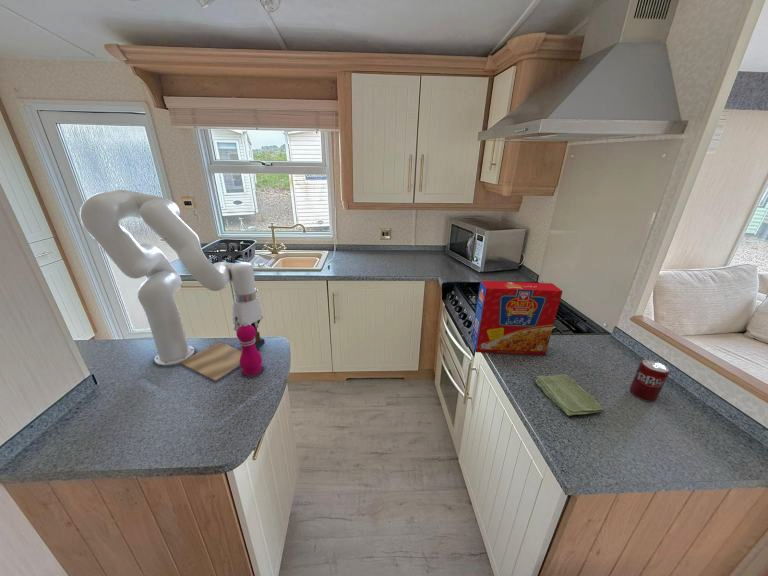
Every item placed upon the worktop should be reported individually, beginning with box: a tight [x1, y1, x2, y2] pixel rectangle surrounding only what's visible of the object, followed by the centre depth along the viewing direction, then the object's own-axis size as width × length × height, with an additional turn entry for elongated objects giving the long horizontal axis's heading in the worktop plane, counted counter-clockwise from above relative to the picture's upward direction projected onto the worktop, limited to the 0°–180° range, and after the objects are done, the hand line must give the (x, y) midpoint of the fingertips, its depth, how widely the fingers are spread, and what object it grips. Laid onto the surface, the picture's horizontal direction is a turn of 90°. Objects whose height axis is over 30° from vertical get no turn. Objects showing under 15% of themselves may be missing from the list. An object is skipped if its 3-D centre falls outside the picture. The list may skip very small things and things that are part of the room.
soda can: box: [629, 359, 671, 403], centre depth 100 cm, size 7×7×12 cm
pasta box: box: [470, 280, 563, 356], centre depth 121 cm, size 28×8×28 cm, turn 88°
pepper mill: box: [236, 322, 263, 376], centre depth 104 cm, size 7×7×20 cm
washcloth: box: [534, 373, 604, 417], centre depth 100 cm, size 13×18×3 cm
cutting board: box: [179, 341, 242, 381], centre depth 113 cm, size 20×16×1 cm
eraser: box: [238, 330, 266, 350], centre depth 120 cm, size 9×4×6 cm, turn 63°
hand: (251, 338), depth 121 cm, fingers closed on eraser, 2 cm apart
